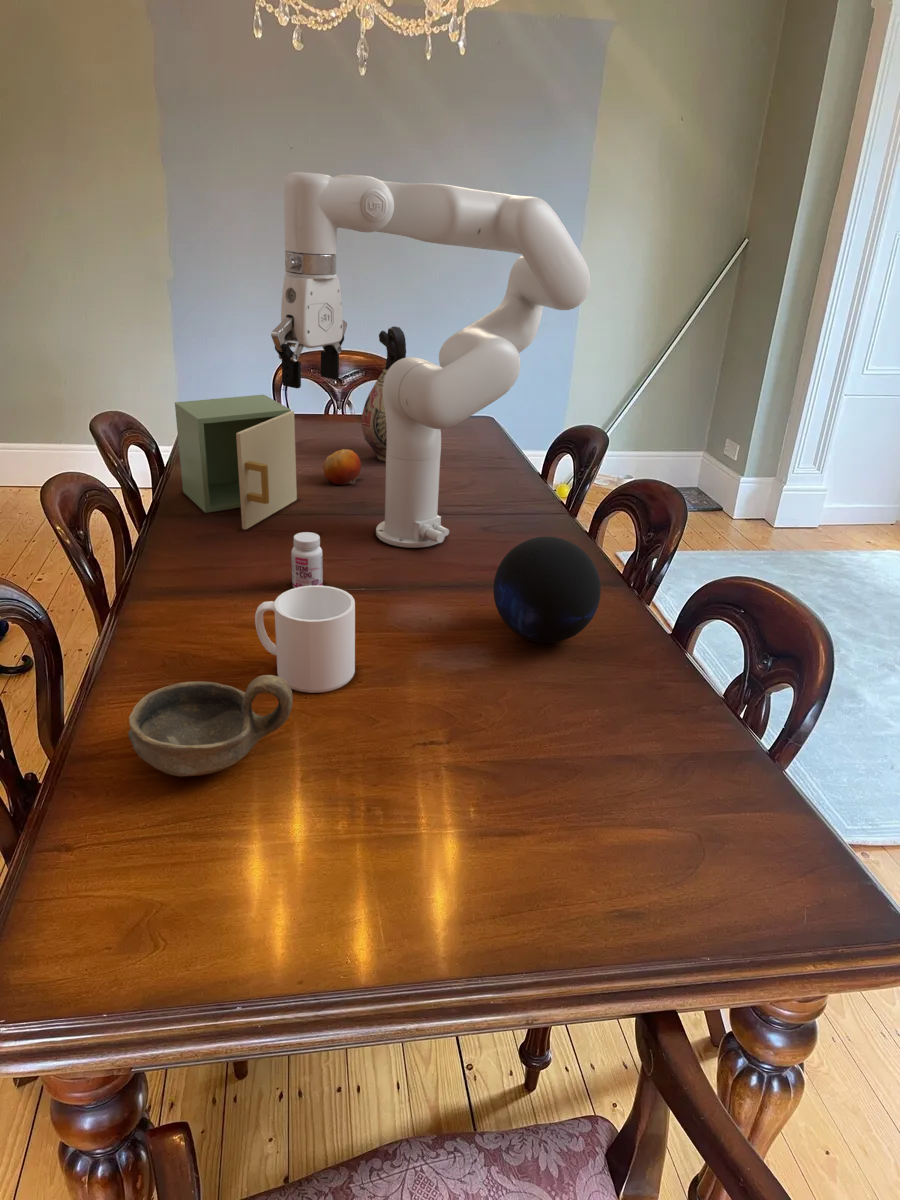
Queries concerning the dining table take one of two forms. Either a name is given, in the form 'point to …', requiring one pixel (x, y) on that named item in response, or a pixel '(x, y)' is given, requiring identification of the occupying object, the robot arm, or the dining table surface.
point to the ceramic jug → (374, 404)
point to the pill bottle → (306, 560)
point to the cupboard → (217, 445)
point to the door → (266, 468)
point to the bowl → (204, 724)
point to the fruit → (342, 467)
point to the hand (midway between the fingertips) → (311, 382)
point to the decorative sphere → (547, 589)
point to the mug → (312, 637)
